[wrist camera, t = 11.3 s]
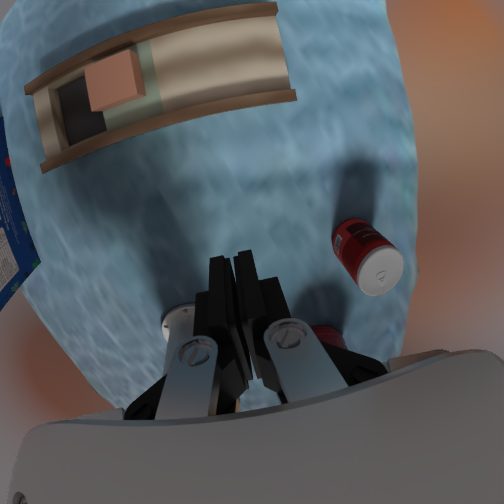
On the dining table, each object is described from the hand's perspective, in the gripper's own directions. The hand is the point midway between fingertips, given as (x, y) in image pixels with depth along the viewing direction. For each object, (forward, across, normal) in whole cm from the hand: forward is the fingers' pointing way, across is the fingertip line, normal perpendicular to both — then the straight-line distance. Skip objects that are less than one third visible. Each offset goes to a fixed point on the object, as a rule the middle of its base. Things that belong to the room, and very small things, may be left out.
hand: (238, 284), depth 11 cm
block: (+26, +11, -15) cm, 32 cm away
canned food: (+29, -18, +16) cm, 38 cm away
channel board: (+29, +8, -14) cm, 33 cm away
